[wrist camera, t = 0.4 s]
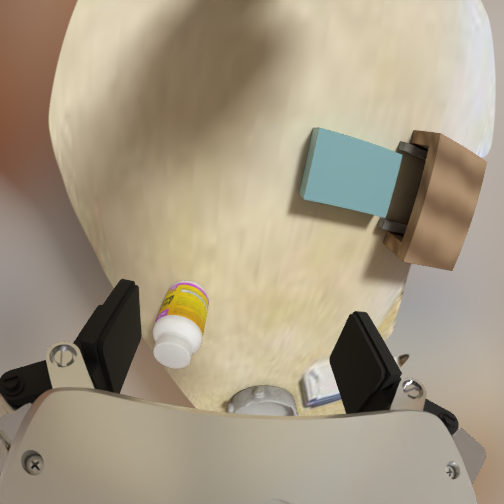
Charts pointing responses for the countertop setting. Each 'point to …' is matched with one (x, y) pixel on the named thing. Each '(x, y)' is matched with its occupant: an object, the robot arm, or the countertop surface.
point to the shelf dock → (438, 203)
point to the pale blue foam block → (349, 173)
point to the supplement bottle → (180, 324)
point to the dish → (263, 402)
